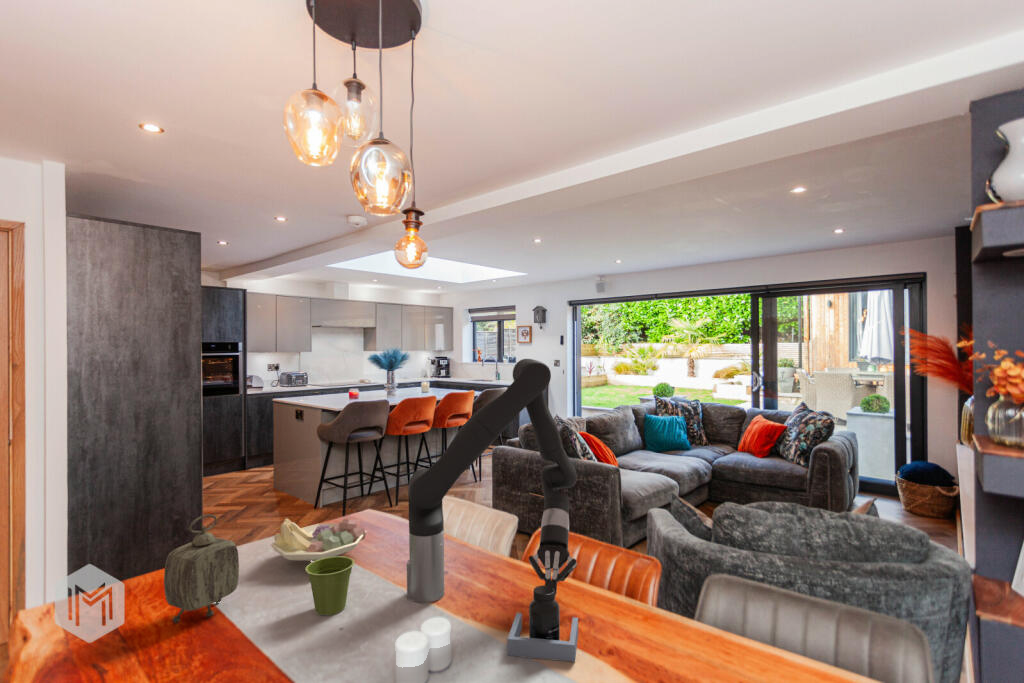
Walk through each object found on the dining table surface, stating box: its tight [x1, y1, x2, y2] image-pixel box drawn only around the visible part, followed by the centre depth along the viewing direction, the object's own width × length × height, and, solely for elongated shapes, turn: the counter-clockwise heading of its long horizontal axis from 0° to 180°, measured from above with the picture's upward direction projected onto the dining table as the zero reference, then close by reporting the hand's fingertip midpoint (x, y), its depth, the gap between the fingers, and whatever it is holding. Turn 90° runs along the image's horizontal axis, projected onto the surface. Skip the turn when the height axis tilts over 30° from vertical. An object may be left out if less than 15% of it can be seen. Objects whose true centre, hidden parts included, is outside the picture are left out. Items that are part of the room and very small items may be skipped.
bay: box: [506, 612, 579, 663], centre depth 114 cm, size 14×11×4 cm
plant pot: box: [304, 555, 355, 616], centre depth 131 cm, size 12×12×11 cm
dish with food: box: [270, 518, 368, 562], centre depth 162 cm, size 28×28×14 cm
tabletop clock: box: [163, 513, 240, 624], centre depth 129 cm, size 14×9×25 cm, turn 154°
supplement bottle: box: [528, 584, 561, 641], centre depth 114 cm, size 7×7×12 cm
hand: (550, 596), depth 126 cm, fingers closed
